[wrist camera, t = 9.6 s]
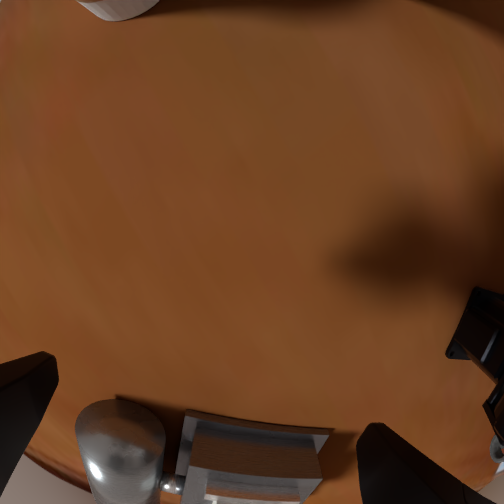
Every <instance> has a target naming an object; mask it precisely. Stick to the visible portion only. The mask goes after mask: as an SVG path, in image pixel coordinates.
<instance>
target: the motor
mask: <svg viewBox="0 0 504 504" xmlns="http://www.w3.org/2000/svg"><path fill="white" fill-rule="evenodd" d="M75 432H76V437H77V441H78V445H79V449H80V453H81V457H82V461H83V464H84V468H85V471H86V474H87V478H88V481H89V484H90V487H91V490H92V493H93V496H94V499H95V501H96V503H97V504H160V495H161V491H165V492H170V493H174V494H178V495H181V501H180V504H212V502H213V501H219V502H226V503H234V504H302V503H303V502H304V501H305V500H306V499H307V498H308V496H309V495H310V494H311V493H312V492H313V490H314V489H315V488H316V487H317V486H318V484H319V483H320V482H321V481H322V479H323V477H322V472H321V468H320V464H319V460H318V455H317V454H318V452H319V451H320V449H321V448H322V446H323V445H324V443H325V441H326V440H327V438H328V437H329V432H328V429H319V428H304V427H293V426H283V425H274V424H266V423H258V422H252V421H245V420H239V419H233V418H227V417H222V416H217V415H212V414H207V413H202V412H198V411H193V410H189V409H186V414H185V419H184V425H183V430H182V436H181V442H180V448H179V454H178V460H177V466H176V472H175V474H174V473H170V472H166V471H163V461H164V451H165V442H166V435H165V430H164V427H163V425H162V423H161V422H160V420H159V419H158V418H157V417H156V416H155V415H154V414H153V413H152V412H150V411H149V410H148V409H146V408H144V407H143V406H140V405H138V404H136V403H133V402H129V401H125V400H117V399H109V400H102V401H98V402H95V403H92V404H90V405H89V406H87V407H86V408H84V409H83V410H82V411H81V413H80V414H79V415H78V417H77V420H76V424H75ZM162 471H163V473H162Z"/></svg>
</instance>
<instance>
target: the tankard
mask: <svg viewBox="0 0 504 504" xmlns="http://www.w3.org/2000/svg"><path fill="white" fill-rule="evenodd" d="M503 448H504V446H502V445H501V444H500V443H499V440H498V438H497V436H496V434H495V435H494V437H493V439H492V441H491V445H490V455H491V458H492V460H493V461H494V462H496V463H501V462H504V454H503V453H502V451H501V449H503Z"/></svg>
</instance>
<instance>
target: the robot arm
mask: <svg viewBox="0 0 504 504" xmlns="http://www.w3.org/2000/svg"><path fill="white" fill-rule="evenodd" d="M477 292H478V293H477ZM445 355H446V357H447V358H449V359H461V360H472V361H473V362H474V363H475V364H476V365H477V366H478V367H479V368H480V369H481V370H482V371H483V372H484V373H485V374H486V375H487V376H488V377H489V378H490V379H491V380H492V381H493V382H494V383H495V384H496V386H495V388H494V390H493V391H492V393H491V394H490V396H489V398H488V399H487V400H486V401H485V402H484V404H483V405H482V406H483V408H484V410H485V412H486V414H487V416H488V419H489V421H490V423H491V425H492V427H493V429H494V432H495V434H496V436H497V438H498V440H499V443H500V444H501V445H502V446H504V294H501V293H498V292H495V291H492V290H488V289H485V288H482V287H479V286H476V287H475V288H474V289H473V291H472V294H471V296H470V299H469V301H468V304H467V306H466V309H465V311H464V313H463V316H462V318H461V320H460V323H459V325H458V327H457V329H456V332H455V334H454V336H453V338H452V340H451V342H450V344H449V346H448V348H447V350H446V353H445ZM58 382H59V376H58V369H57V361H56V358H55V356H54V355H52V354H49V353H47V352H45V351H41V352H38V353H35V354H31V355H28V356H25V357H22V358H19V359H15V360H12V361H9V362H6V363H2V364H0V497H1V495H2V493H3V491H4V488H5V487H6V484H7V483H8V480H9V479H10V477H11V475H12V473H13V471H14V469H15V467H16V465H17V463H18V461H19V460H20V458H21V456H22V454H23V452H24V451H25V449H26V447H27V445H28V444H29V442H30V440H31V438H32V437H33V435H34V433H35V431H36V430H37V428H38V426H39V424H40V422H41V420H42V418H43V416H44V413H45V411H46V409H47V407H48V405H49V402H50V400H51V398H52V396H53V394H54V392H55V390H56V388H57V385H58ZM356 451H357V461H358V472H359V484H360V491H361V496H362V502H363V504H496V503H494V502H492V501H491V500H489V499H487V498H485V497H483V496H482V495H480V494H479V493H477V492H476V491H474V490H473V489H471V488H470V487H468V486H467V485H465V484H464V483H462V482H461V481H460V480H458V479H457V478H455V477H454V476H453V475H451V474H450V473H448V472H447V471H446V470H444V469H443V468H442V467H440V466H439V465H437V464H436V463H435V462H433V461H432V460H431V459H429V458H428V457H427V456H425V455H424V454H423V453H421V452H420V451H419V450H417V449H416V448H415V447H413V446H412V445H411V444H410V443H408V442H407V441H406V440H404V439H403V438H402V437H400V436H399V435H398V434H397V433H395V432H394V431H393V430H391V429H390V428H389V427H388V426H386V425H385V424H384V423H370V424H369V425H368V426H367V427H366V429H365V430H364V432H363V433H362V435H361V436H360V438H359V439H358V441H357V444H356Z"/></svg>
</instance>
